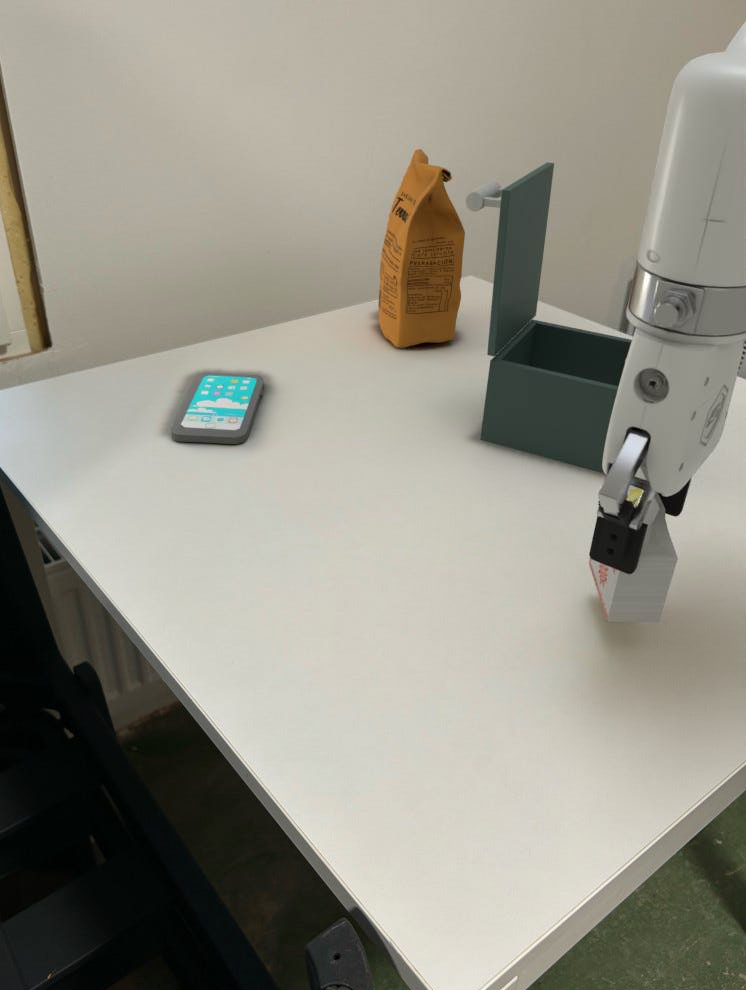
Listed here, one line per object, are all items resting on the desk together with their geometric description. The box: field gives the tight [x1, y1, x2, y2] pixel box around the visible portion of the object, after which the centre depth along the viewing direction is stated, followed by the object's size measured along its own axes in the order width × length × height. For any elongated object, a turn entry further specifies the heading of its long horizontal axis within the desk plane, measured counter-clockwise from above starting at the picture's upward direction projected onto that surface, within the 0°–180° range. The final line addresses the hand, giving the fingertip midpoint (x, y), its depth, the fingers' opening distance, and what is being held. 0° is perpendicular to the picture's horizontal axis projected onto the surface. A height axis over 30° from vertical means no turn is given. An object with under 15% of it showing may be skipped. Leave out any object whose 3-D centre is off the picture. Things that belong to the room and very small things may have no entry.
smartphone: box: [170, 372, 265, 445], centre depth 93 cm, size 9×1×15 cm
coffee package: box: [378, 148, 466, 349], centre depth 105 cm, size 10×12×22 cm
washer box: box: [479, 318, 632, 474], centre depth 86 cm, size 15×13×10 cm
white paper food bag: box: [588, 468, 679, 623], centre depth 59 cm, size 4×7×10 cm, turn 178°
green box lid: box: [465, 162, 555, 357], centre depth 82 cm, size 15×13×6 cm
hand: (636, 534), depth 59 cm, fingers closed on white paper food bag, 7 cm apart
